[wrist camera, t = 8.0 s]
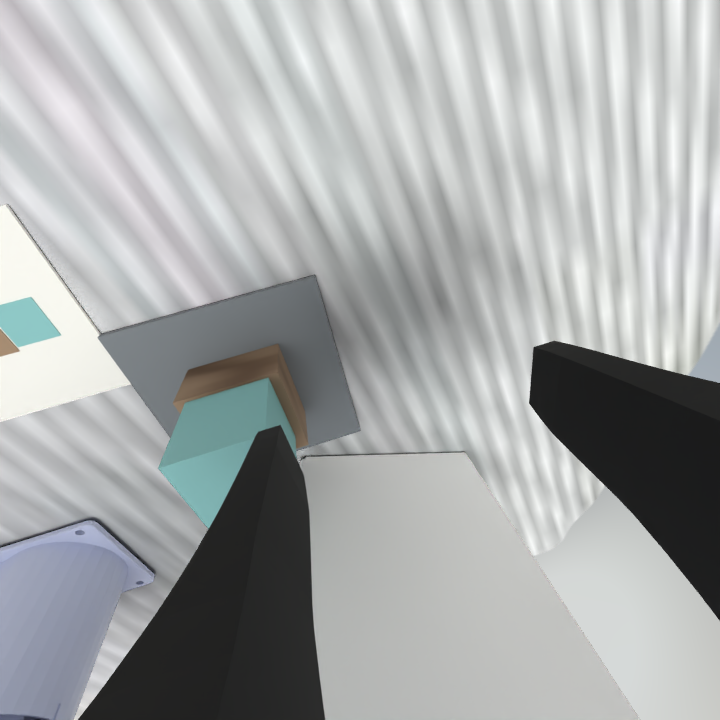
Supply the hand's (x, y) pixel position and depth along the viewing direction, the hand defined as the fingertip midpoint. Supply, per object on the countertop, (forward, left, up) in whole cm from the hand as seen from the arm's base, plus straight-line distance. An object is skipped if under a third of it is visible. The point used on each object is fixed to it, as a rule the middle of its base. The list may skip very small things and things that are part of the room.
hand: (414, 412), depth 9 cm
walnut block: (-7, -4, -10) cm, 13 cm away
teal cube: (-7, -4, -7) cm, 11 cm away
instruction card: (-16, +3, -10) cm, 19 cm away
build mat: (-7, -4, -10) cm, 13 cm away
